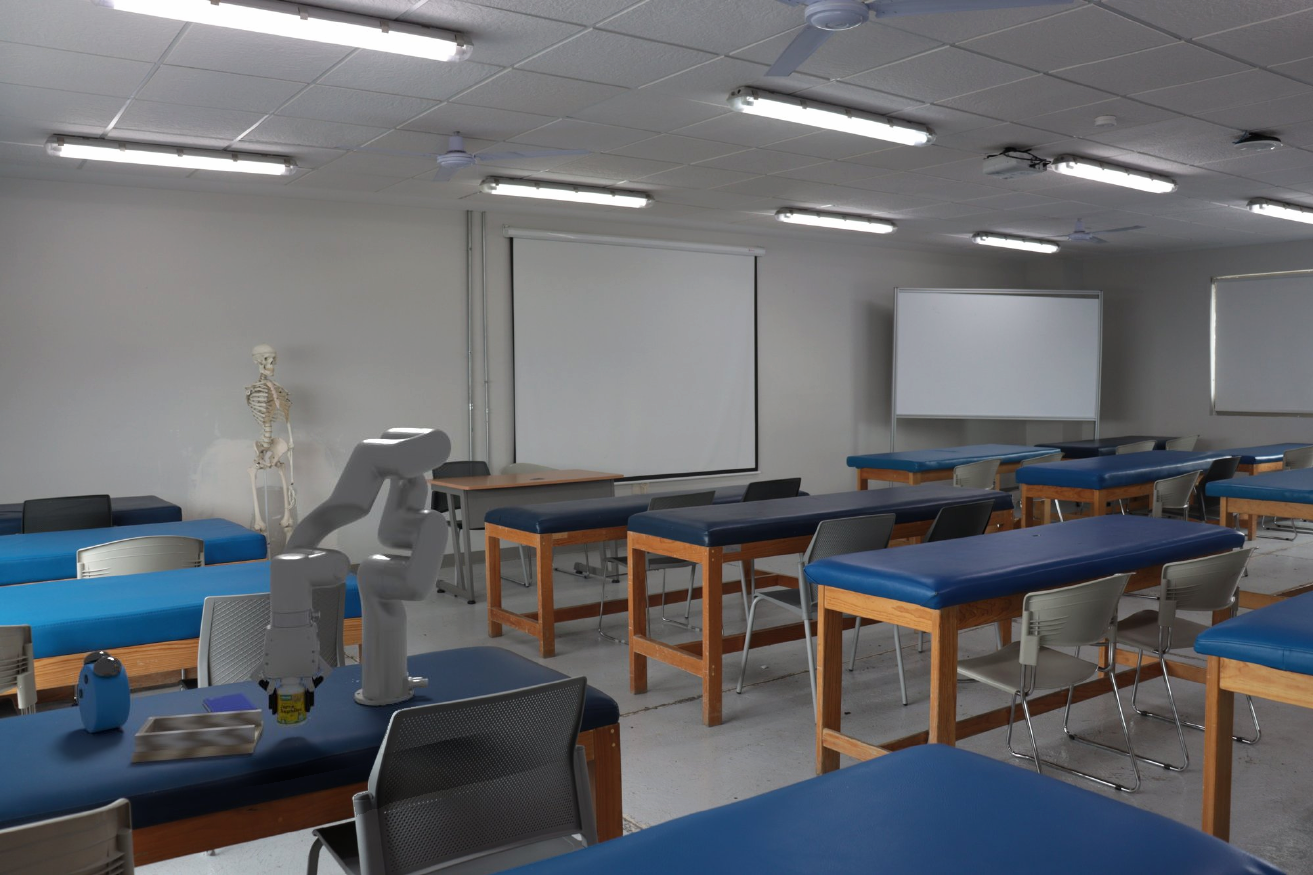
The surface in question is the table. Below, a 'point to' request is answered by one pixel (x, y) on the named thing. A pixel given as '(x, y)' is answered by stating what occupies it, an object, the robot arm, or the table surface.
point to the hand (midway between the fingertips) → (291, 710)
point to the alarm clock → (103, 692)
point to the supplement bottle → (291, 703)
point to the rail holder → (198, 735)
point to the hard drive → (228, 703)
